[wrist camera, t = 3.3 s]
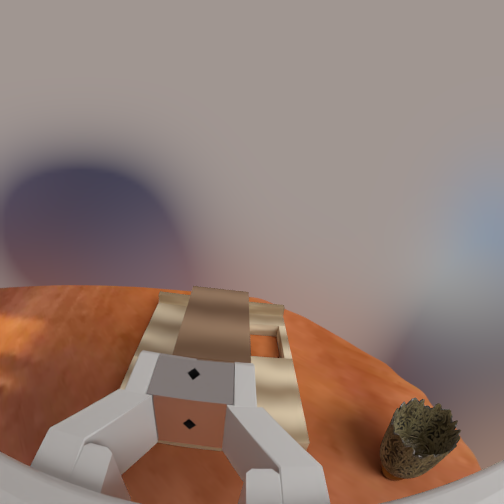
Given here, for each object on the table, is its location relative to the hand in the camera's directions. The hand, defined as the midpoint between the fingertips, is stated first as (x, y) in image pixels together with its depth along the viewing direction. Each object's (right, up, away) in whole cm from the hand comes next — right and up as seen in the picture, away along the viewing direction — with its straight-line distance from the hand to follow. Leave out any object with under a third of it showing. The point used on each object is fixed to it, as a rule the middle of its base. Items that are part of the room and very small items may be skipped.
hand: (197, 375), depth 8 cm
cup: (+16, -20, +16) cm, 30 cm away
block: (-3, -12, +24) cm, 27 cm away
